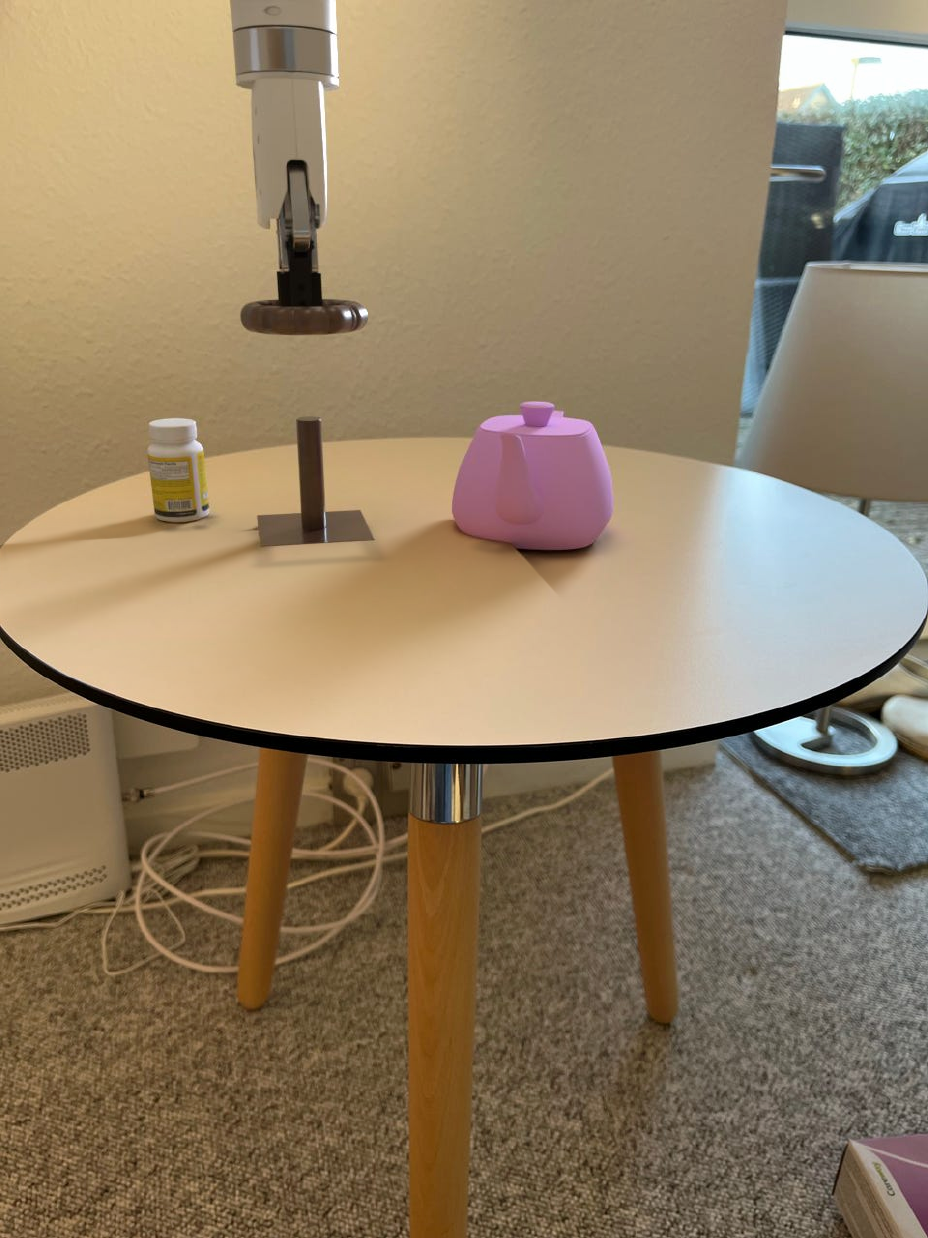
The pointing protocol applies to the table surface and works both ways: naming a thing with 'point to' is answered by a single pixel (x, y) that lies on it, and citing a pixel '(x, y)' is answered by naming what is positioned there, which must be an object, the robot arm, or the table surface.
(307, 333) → the ring
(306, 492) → the stand
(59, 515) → the table surface
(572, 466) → the teapot
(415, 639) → the table surface
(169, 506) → the supplement bottle
